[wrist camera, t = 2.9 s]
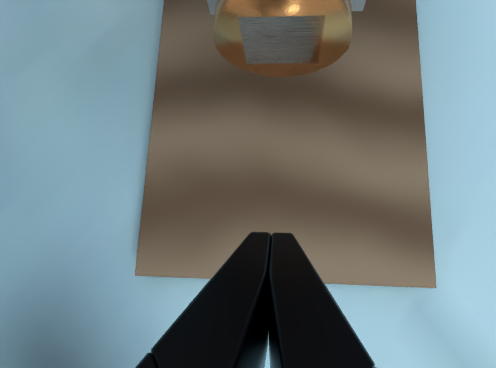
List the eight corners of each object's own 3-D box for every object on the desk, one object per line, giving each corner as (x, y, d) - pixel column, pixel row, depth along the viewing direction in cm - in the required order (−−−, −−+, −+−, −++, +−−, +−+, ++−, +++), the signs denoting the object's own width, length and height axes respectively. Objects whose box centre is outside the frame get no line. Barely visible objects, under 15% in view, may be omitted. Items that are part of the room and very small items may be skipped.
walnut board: (428, 287, 20) (436, 288, 19) (141, 275, 21) (134, 275, 20) (406, -42, 25) (411, -55, 24) (173, -33, 26) (169, -45, 25)
